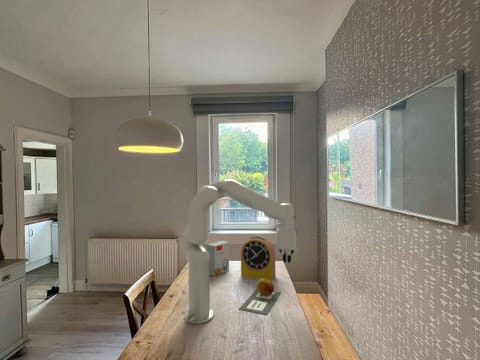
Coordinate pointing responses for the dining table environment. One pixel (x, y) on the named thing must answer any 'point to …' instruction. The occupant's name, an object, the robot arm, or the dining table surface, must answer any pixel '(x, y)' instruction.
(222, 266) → the hard drive box
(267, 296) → the label mat
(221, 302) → the dining table surface
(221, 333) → the dining table surface
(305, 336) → the dining table surface
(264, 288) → the fruit
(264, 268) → the alarm clock
